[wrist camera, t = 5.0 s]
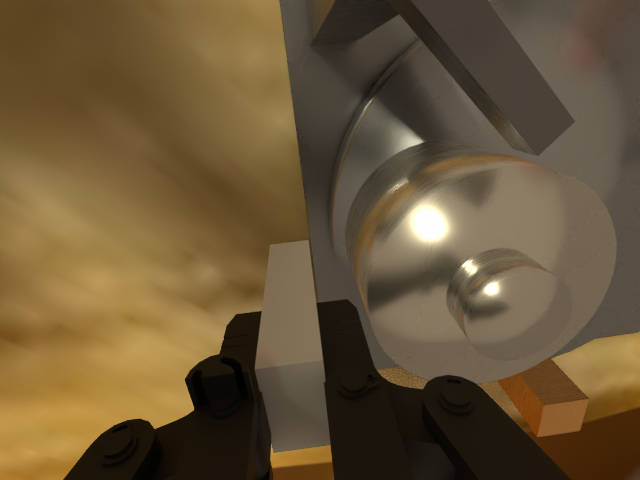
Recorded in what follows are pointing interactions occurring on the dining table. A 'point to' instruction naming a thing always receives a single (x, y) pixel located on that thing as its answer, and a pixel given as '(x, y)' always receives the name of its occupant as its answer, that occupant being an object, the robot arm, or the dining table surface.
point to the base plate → (343, 132)
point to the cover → (476, 259)
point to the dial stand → (461, 59)
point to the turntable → (524, 154)
